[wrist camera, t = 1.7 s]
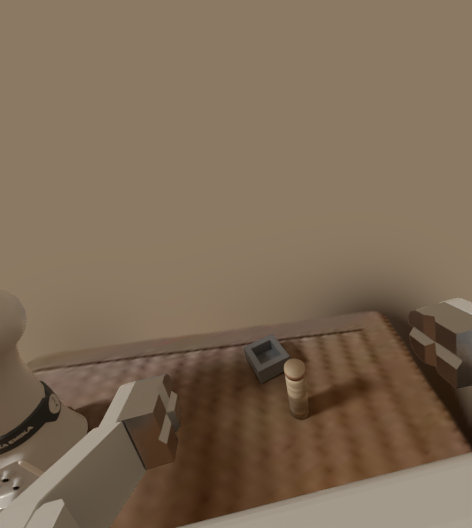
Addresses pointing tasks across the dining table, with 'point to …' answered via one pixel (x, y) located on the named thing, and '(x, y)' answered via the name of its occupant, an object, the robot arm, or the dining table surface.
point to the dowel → (297, 388)
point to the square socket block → (266, 357)
